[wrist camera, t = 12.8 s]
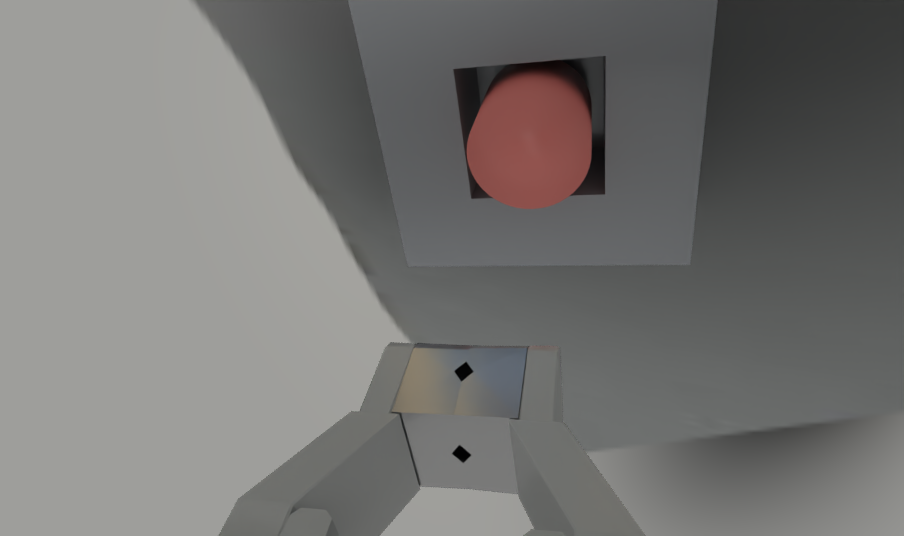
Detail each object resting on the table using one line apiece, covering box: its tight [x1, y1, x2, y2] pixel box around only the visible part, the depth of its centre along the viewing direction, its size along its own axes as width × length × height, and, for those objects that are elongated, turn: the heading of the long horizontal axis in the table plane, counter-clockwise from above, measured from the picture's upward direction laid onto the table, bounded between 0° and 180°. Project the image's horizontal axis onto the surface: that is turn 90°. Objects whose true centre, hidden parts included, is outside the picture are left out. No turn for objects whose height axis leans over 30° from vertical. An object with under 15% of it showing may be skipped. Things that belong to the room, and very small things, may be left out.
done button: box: [467, 60, 592, 209], centre depth 19 cm, size 4×4×4 cm
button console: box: [348, 0, 718, 267], centre depth 20 cm, size 10×10×4 cm
